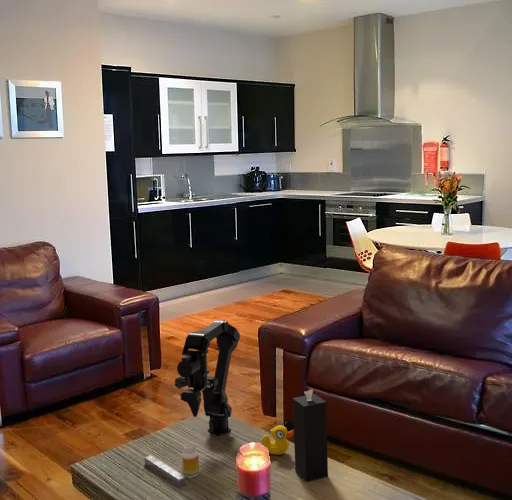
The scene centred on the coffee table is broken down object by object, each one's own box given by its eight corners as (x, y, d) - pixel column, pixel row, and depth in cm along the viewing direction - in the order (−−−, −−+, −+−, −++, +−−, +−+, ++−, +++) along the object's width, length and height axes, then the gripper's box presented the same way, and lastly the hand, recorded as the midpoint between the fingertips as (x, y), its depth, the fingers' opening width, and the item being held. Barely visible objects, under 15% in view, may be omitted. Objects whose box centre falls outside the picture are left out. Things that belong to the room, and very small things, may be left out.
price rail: (152, 461, 213) (151, 454, 213) (187, 484, 197) (186, 476, 197) (144, 464, 212) (144, 457, 211) (179, 487, 196) (179, 479, 195)
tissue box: (294, 471, 203) (292, 388, 199) (316, 466, 206) (314, 383, 202) (306, 482, 195) (303, 396, 191) (328, 476, 198) (326, 391, 194)
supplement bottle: (201, 475, 203) (200, 446, 201) (186, 479, 200) (184, 450, 199) (195, 468, 208) (194, 440, 206) (180, 472, 205) (178, 444, 204)
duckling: (295, 450, 217) (295, 423, 216) (294, 457, 212) (293, 429, 210) (263, 449, 219) (262, 422, 218) (260, 456, 214) (259, 428, 212)
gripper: (189, 359, 231) (191, 400, 233) (165, 375, 213) (167, 419, 215) (217, 361, 227) (219, 403, 229) (195, 378, 209) (197, 423, 211)
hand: (200, 411), depth 221 cm, fingers open, 9 cm apart
